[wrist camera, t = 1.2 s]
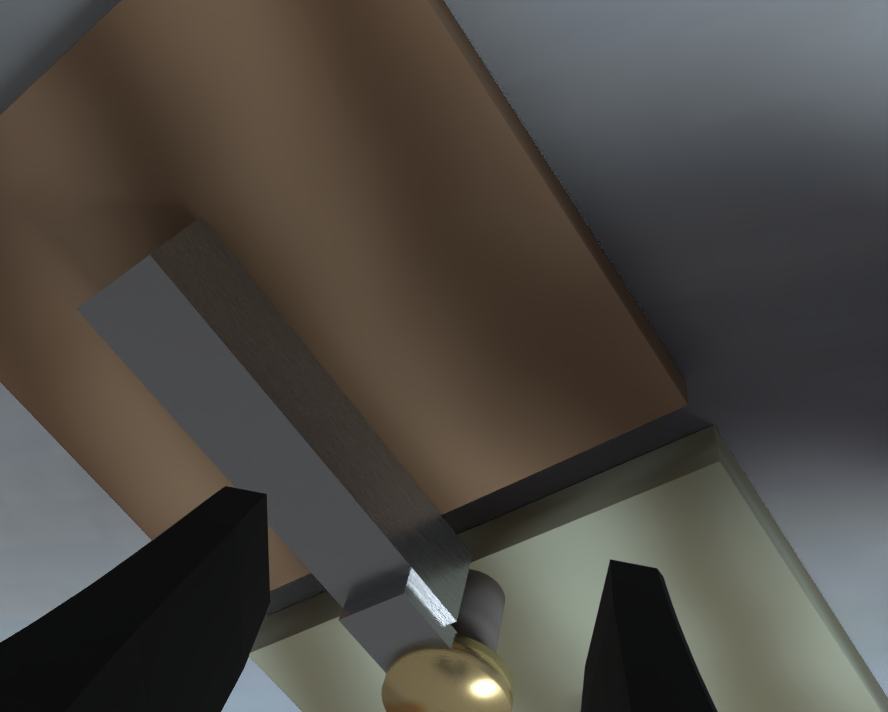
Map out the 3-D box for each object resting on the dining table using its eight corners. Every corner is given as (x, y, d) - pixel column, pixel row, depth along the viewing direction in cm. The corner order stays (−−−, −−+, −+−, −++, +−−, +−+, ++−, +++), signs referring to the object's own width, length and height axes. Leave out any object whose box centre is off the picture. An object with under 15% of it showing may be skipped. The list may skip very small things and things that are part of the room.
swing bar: (547, 627, 23) (536, 730, 20) (453, 660, 24) (430, 762, 21) (213, 206, 19) (140, 261, 16) (122, 274, 20) (39, 336, 17)
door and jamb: (331, -177, 17) (255, -196, 13) (904, 724, 25) (948, 854, 21) (-100, 226, 23) (-223, 282, 20) (467, 832, 31) (447, 944, 28)
